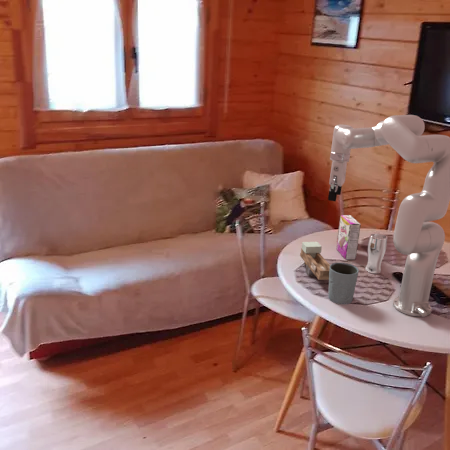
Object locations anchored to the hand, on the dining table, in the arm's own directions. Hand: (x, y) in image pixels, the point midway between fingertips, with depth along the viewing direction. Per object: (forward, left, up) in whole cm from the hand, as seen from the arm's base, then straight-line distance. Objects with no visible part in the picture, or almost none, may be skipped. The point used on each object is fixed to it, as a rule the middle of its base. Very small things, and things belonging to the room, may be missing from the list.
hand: (334, 197), depth 203 cm
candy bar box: (+1, -9, -27) cm, 28 cm away
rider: (-9, +11, -22) cm, 26 cm away
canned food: (+13, -14, -27) cm, 33 cm away
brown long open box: (-16, +11, -27) cm, 33 cm away
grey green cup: (-36, +9, -27) cm, 46 cm away
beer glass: (-15, -14, -27) cm, 34 cm away
